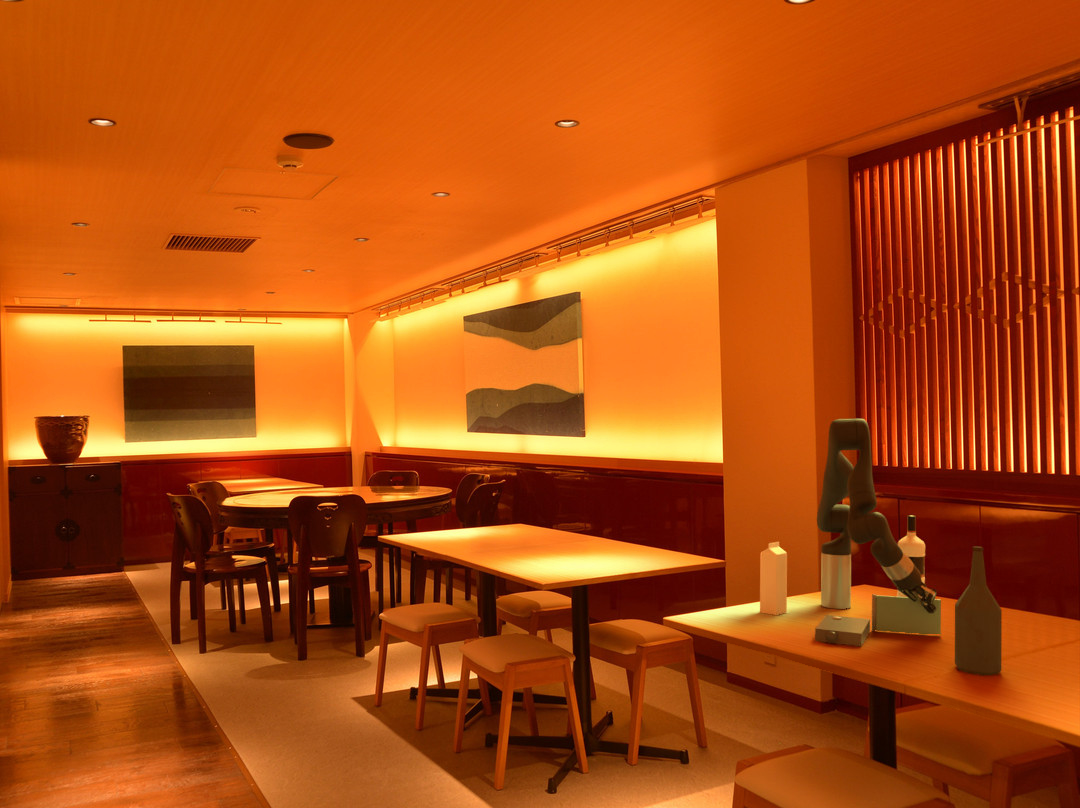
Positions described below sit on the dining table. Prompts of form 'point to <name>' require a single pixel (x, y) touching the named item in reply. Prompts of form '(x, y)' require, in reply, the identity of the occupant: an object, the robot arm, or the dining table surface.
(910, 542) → the vodka
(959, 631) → the bottle
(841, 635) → the box with round knob
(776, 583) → the milk
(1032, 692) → the dining table surface
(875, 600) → the door
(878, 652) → the dining table surface
